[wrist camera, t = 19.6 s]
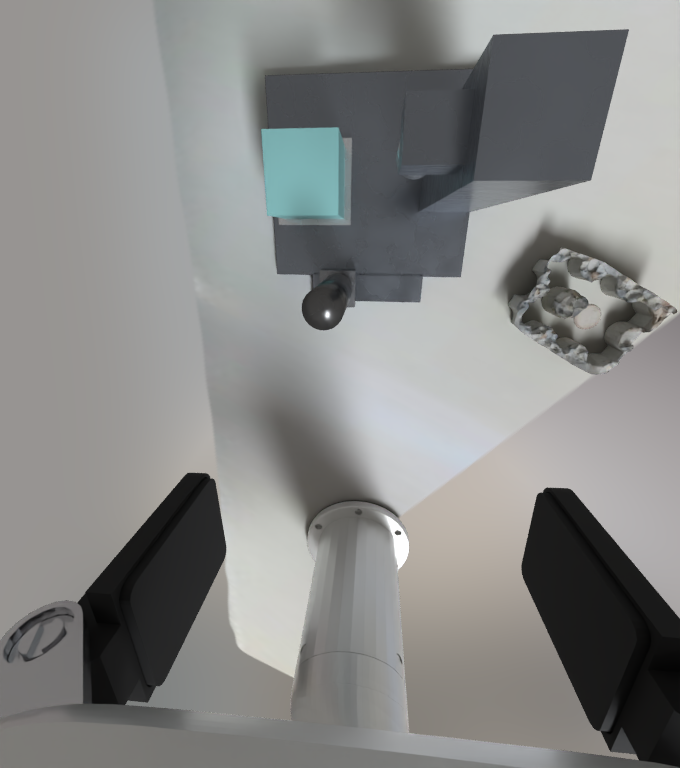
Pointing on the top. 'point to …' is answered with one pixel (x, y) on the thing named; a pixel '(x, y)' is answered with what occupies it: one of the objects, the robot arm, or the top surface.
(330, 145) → the teal cube block
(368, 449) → the top surface
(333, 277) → the lever
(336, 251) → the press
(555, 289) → the egg carton
